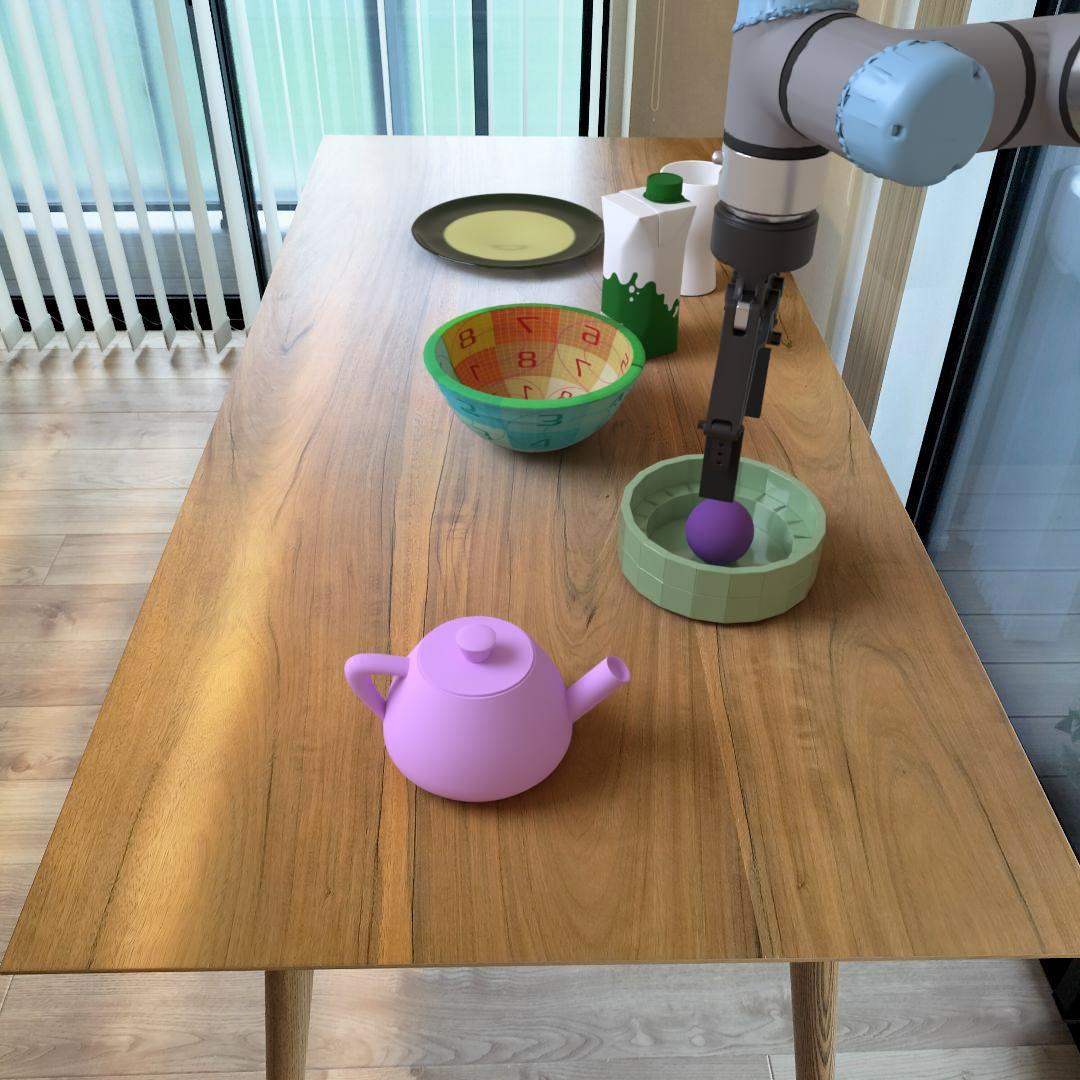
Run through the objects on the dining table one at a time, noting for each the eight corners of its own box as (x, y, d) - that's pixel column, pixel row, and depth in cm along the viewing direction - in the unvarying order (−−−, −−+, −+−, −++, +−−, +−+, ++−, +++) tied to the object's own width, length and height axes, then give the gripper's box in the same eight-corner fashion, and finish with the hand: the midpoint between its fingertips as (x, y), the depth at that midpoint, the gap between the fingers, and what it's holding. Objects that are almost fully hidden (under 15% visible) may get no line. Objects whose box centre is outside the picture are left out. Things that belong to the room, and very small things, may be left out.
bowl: (387, 460, 110) (380, 373, 104) (488, 366, 126) (486, 286, 120) (588, 518, 103) (593, 428, 97) (668, 410, 119) (676, 327, 113)
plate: (645, 259, 152) (646, 242, 150) (468, 299, 140) (467, 281, 139) (544, 196, 171) (544, 180, 169) (381, 227, 159) (380, 211, 158)
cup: (732, 301, 141) (747, 187, 132) (651, 301, 141) (660, 186, 132) (720, 268, 150) (733, 159, 140) (643, 267, 149) (652, 158, 140)
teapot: (633, 813, 75) (644, 706, 69) (344, 818, 74) (328, 711, 68) (615, 673, 86) (624, 570, 80) (363, 676, 85) (351, 572, 79)
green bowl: (853, 569, 97) (867, 515, 94) (726, 658, 88) (735, 602, 84) (705, 484, 107) (712, 433, 104) (577, 556, 98) (580, 502, 94)
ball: (763, 559, 97) (772, 505, 93) (719, 587, 94) (727, 532, 90) (712, 529, 101) (719, 475, 97) (668, 555, 97) (674, 500, 94)
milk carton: (688, 352, 130) (706, 187, 118) (626, 369, 126) (638, 201, 114) (646, 323, 136) (659, 163, 124) (585, 339, 132) (593, 176, 120)
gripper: (744, 146, 88) (714, 377, 101) (679, 262, 69) (653, 528, 82) (838, 157, 86) (795, 390, 99) (797, 279, 67) (752, 548, 80)
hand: (731, 453), depth 90 cm, fingers open, 13 cm apart
